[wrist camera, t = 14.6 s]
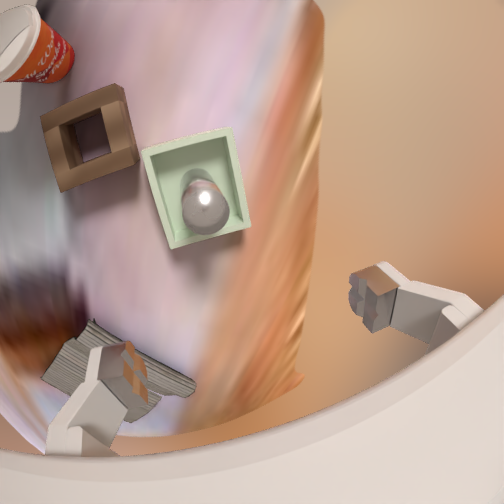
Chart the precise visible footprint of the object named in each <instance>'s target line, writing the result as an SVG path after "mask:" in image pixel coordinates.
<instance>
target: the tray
mask: <svg viewBox="0 0 504 504" xmlns="http://www.w3.org/2000/svg"><path fill="white" fill-rule="evenodd" d="M141 154H142V157H143V161H144V165H145V168H146V172H147V176H148V179H149V183H150V186H151V189H152V193H153V196H154V200H155V203H156V206H157V209H158V213H159V216H160V219H161V222H162V225H163V228H164V231H165V234H166V237H167V240H168V243H169V246H170V249H174V248H178V247H181V246H185V245H188V244H192V243H195V242H199V241H202V240H206V239H209V238H213V237H216V236H220V235H223V234H227V233H231V232H234V231H238V230H241V229H245V228H249V227H251V222H250V217H249V212H248V207H247V201H246V196H245V191H244V186H243V181H242V176H241V171H240V165H239V160H238V155H237V150H236V145H235V140H234V135H233V130H232V127H222V128H218V129H213V130H209V131H205V132H200V133H196V134H192V135H188V136H185V137H181V138H177V139H173V140H170V141H166V142H163V143H159V144H156V145H153V146H150V147H146V148H144V149H143V150H142V151H141ZM194 168H200V169H204V170H206V171H207V172H208V173H209V174H210V175H211V177H212V178H213V180H214V181H215V183H216V185H217V186H218V188H219V189H220V191H221V192H222V194H223V196H224V197H225V199H226V200H227V202H228V205H229V209H230V214H229V219H228V221H227V223H226V224H225V226H224V227H223V228H222V229H221V230H219V231H218V232H216V233H214V234H210V235H199V234H196V233H194V232H192V231H191V230H190V229H189V228H188V227H187V226H186V225H185V223H184V220H183V216H182V203H181V190H180V182H181V179H182V177H183V175H184V174H185V173H186V172H187V171H189V170H191V169H194Z"/></svg>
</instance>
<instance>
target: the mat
mask: <svg viewBox="0 0 504 504" xmlns="http://www.w3.org/2000/svg"><path fill="white" fill-rule="evenodd" d="M119 342H123V341H122V340H120V339H119V338H117V337H115V336H114V335H112V334H110V333H109V332H107V331H106V330H104V329H103V328H101V327H100V326H98V325H97V324H95V320H94V321H93V322H92V321H91V320H90V319H88V322H87V326H86V327H85V329H84V330H83V331H82V333H81V334H80V335H79V336H78V337H73V338H71V339H69V340H68V341H66V342H65V343H64V344H63V346H62V349H61V350H60V351H59V352H58V354H57V355H56V357H55V359H54V361H53V363H52V364H51V365H50V366H49V367H48V368H47V370H46V371H45V373H44V375H43V376H42V377H41V379H42V380H43V381H45V382H46V383H48V384H50V385H52V386H53V387H55V388H57V389H59V390H61V391H62V392H64V393H66V394H67V395H69V396H72V394H73V393H74V392H75V390H76V389H77V388H78V387H79V385H80V384H81V383H84V382H85V377H86V371H87V366H88V361H89V356H90V351H91V349H92V348H94V347H100V346H104V345H109V344H114V343H119ZM135 354H137V355H139V356H140V357H141V358H142V360H143V361H144V364H145V366H146V370H147V378H148V380H147V382H146V383H145V385H144V386H145V387H146V388H147V389H150V390H152V391H154V392H156V393H159V394H162V395H165V396H166V395H177V396H180V397H184V398H186V397H188V396H190V395H191V394H192V393H193V392H195V388H196V383H195V382H194V381H193V380H192V379H190V378H188V377H186V376H185V375H183V374H181V373H180V372H178V371H176V370H174V369H172V368H170V367H168V366H166V365H164V364H162V363H160V362H158V361H156V360H154V359H153V358H151V357H149V356H147V355H145V354H143V353H142V352H140V351H138V350H136V349H135ZM161 398H162V397H161V396H159V395H157V394H155V393H153V392H151V391H149V390H148V405H146V406H141V407H135V408H130V409H128V411H127V413H126V415H125V417H124V419H123V420H124V421H126V422H129V423H132V422H134V421H136V420H138V419H139V418H141V417H142V416H144V415H145V414H147V413H148V412H149V411H150V410H151V409H152V408H153V407H154V406H155V405H156V404H157V402H158V401H159V400H160V399H161Z"/></svg>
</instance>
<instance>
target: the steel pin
mask: <svg viewBox="0 0 504 504" xmlns="http://www.w3.org/2000/svg"><path fill="white" fill-rule="evenodd" d="M180 190H181V203H182V216H183V220H184V223H185V225H186V226H187V227H188V228H189V229H190V230H191V231H192V232H194V233H196V234H199V235H210V234H214V233H216V232H218V231H219V230H221V229H222V228H223V227H224V226H225V224H226V223H227V221H228V219H229V214H230V209H229V205H228V202H227V200H226V199H225V197H224V196H223V194H222V192H221V191H220V189H219V188H218V186H217V185H216V183H215V181H214V180H213V178H212V177H211V175H210V174H209V173H208V172H207V171H206V170H204V169H200V168H194V169H191V170H189V171H187V172H186V173H185V174H184V175H183V177H182V179H181V182H180Z"/></svg>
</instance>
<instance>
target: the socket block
mask: <svg viewBox="0 0 504 504" xmlns="http://www.w3.org/2000/svg"><path fill="white" fill-rule="evenodd" d="M99 113H102V116H103V120H104V124H105V129H106V133H107V137H108V141H109V144H110V148H111V152H110V153H107V154H104V155H102V156H99V157H96V158H94V159H91V160H89V161H86V162H84V163H83V159H82V156H81V152H80V148H79V144H78V141H77V137H76V133H75V128H74V124H75V123H78V122H80V121H82V120H84V119H87V118H89V117H92V116H94V115H97V114H99ZM40 119H41V124H42V128H43V133H44V137H45V141H46V145H47V149H48V153H49V156H50V160H51V164H52V167H53V170H54V174H55V177H56V180H57V183H58V186H59V189H60V192H61V193H62V192H64V191H66V190H69V189H71V188H74V187H76V186H78V185H81V184H83V183H86V182H88V181H91V180H93V179H96V178H99V177H101V176H104V175H107V174H109V173H112V172H115V171H118V170H121V169H123V168H126V167H129V166H132V165H135V164H136V163H137V161H138V160H139V159H140V156H139V152H138V148H137V145H136V141H135V137H134V133H133V128H132V124H131V120H130V116H129V111H128V107H127V102H126V97H125V93H124V88H122V87H120V86H119V85H117V84H116V83H114V84H111V85H109V86H106V87H103V88H101V89H98V90H96V91H93V92H91V93H88V94H86V95H84V96H81V97H79V98H77V99H75V100H72V101H70V102H68V103H66V104H64V105H62V106H60V107H58V108H56V109H54V110H52V111H50V112H48V113H46V114H44V115H42V116H40Z"/></svg>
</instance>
